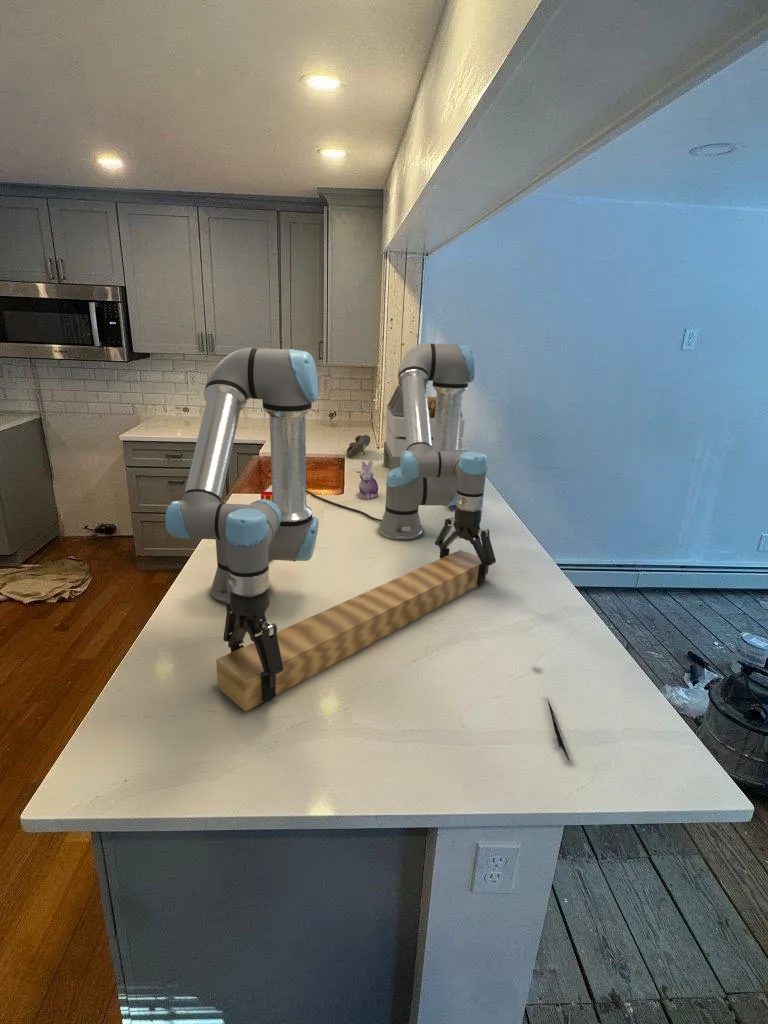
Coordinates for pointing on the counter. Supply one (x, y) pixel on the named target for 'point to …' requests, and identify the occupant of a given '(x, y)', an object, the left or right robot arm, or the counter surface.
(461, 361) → the right robot arm
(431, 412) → the grey slatted crate
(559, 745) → the feather
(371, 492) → the figurine
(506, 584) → the counter surface
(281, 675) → the long beam
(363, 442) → the fossil
